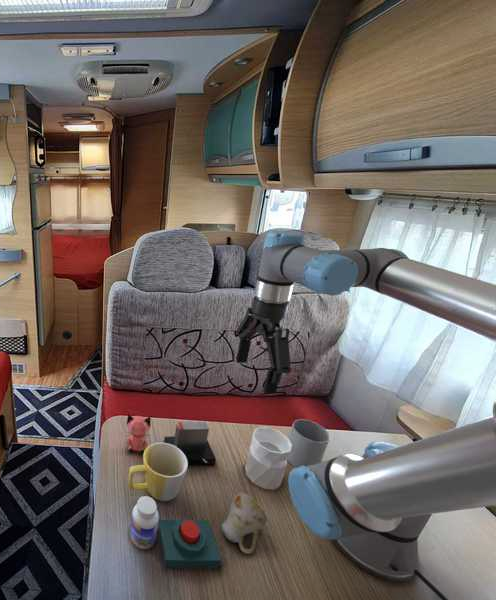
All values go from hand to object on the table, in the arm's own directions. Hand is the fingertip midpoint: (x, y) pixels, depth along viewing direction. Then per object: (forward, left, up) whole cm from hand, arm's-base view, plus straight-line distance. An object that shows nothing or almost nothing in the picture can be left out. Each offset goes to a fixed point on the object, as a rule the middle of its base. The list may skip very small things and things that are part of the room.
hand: (254, 376), depth 84 cm
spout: (+7, +13, -22) cm, 27 cm away
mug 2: (-13, +20, -25) cm, 35 cm away
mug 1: (+6, +28, -25) cm, 38 cm away
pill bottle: (-1, +39, -25) cm, 46 cm away
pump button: (-8, +33, -21) cm, 40 cm away
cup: (-13, -11, -25) cm, 30 cm away
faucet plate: (+7, +13, -25) cm, 29 cm away
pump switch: (-8, +33, -25) cm, 42 cm away
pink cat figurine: (+17, +23, -25) cm, 38 cm away
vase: (-9, +2, -25) cm, 27 cm away
